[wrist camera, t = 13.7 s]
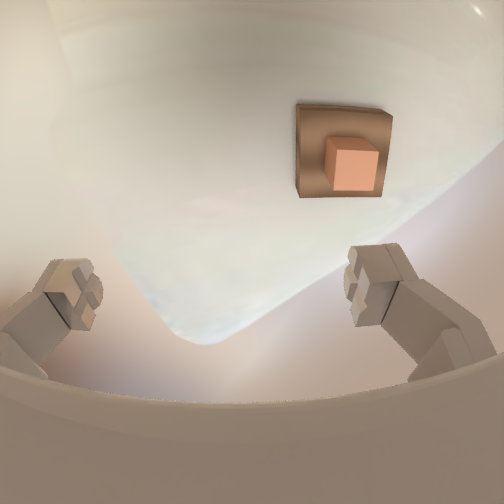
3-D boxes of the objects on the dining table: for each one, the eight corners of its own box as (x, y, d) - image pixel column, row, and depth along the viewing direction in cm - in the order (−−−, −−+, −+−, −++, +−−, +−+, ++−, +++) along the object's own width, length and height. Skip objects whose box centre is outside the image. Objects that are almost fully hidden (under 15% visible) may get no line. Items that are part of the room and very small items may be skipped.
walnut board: (295, 104, 34) (300, 110, 30) (380, 109, 33) (392, 116, 30) (295, 184, 41) (299, 198, 38) (371, 184, 41) (381, 197, 38)
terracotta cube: (326, 136, 32) (337, 149, 29) (364, 138, 32) (379, 151, 28) (324, 172, 36) (333, 190, 32) (360, 173, 35) (373, 190, 32)
